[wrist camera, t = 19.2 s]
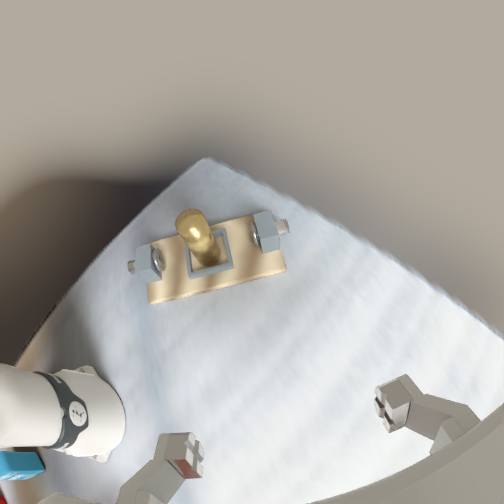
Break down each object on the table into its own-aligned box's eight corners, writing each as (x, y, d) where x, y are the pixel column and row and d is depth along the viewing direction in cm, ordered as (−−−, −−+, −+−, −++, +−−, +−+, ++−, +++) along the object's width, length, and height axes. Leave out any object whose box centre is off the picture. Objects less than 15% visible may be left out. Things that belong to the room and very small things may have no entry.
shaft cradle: (142, 306, 46) (125, 294, 40) (140, 250, 52) (126, 234, 46) (297, 268, 45) (298, 250, 40) (278, 212, 51) (276, 191, 46)
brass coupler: (198, 269, 46) (176, 237, 37) (195, 247, 48) (174, 214, 40) (223, 261, 46) (206, 228, 37) (218, 240, 48) (202, 205, 40)
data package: (27, 479, 26) (-9, 480, 16) (19, 463, 28) (-17, 461, 18) (47, 469, 29) (7, 471, 19) (38, 451, 31) (-2, 450, 21)
